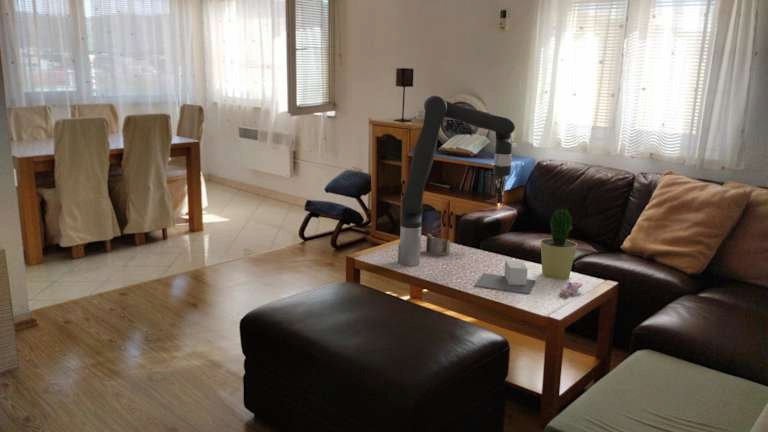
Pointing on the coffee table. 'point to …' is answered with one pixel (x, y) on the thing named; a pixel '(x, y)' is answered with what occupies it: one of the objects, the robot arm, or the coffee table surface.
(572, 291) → the pink unicorn figurine
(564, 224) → the potted cactus
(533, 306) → the coffee table surface
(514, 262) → the supplement box
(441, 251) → the grey upright block
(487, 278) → the mat
